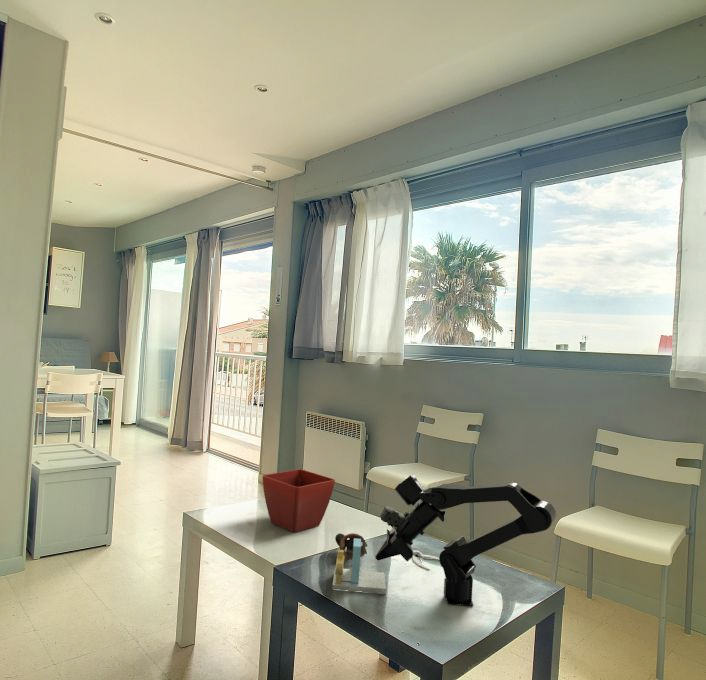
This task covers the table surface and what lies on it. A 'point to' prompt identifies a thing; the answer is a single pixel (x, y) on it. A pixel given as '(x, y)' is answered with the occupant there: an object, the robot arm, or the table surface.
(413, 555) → the pliers
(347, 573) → the clip bar
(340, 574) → the block holder base
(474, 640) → the table surface
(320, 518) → the plant pot
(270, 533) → the table surface
